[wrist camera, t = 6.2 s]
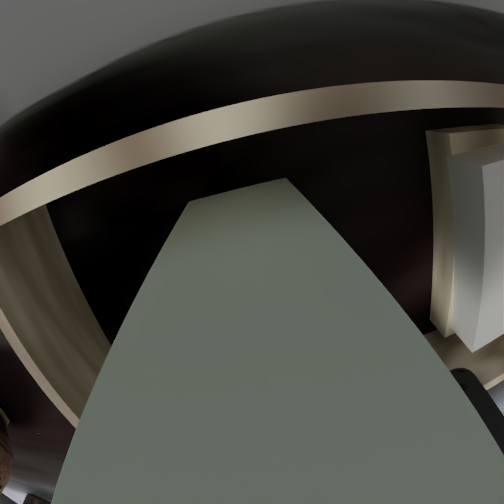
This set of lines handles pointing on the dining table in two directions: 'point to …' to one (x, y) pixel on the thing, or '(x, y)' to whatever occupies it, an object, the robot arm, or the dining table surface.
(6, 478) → the ceramic jug
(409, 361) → the tall panel
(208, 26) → the dining table surface
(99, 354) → the frame
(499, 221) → the upper offcut
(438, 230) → the lower offcut
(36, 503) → the plant pot
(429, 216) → the dining table surface
